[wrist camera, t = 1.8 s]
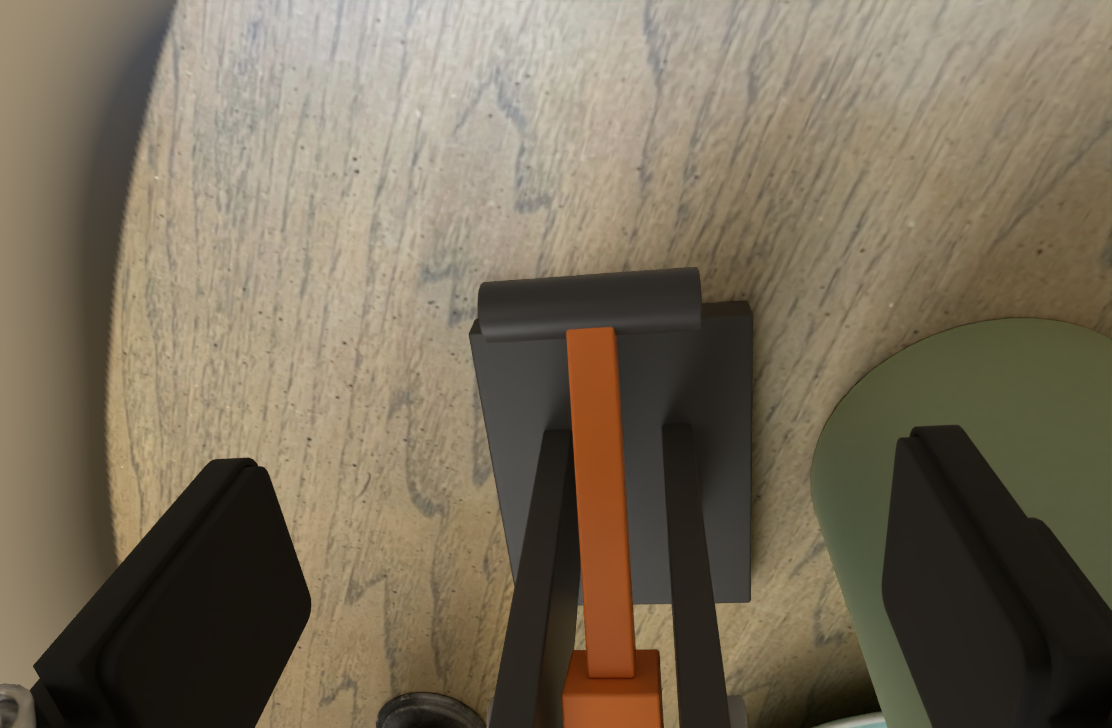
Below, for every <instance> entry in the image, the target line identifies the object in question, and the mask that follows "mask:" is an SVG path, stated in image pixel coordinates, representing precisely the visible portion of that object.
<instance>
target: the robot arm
mask: <svg viewBox="0 0 1112 728" xmlns="http://www.w3.org/2000/svg"><path fill="white" fill-rule="evenodd" d="M881 588H882V598H883V603H884V607H885V610H886V613H887V615H888V618H889V620H890V623H891V625H892V628H893V630H894V633H895V635H896V638H897V640H898V643H899V645H900V648H901V650H902V653H903V655H904V658H905V660H906V663H907V665H908V668H909V670H910V673H911V675H912V678H913V680H914V683H915V685H916V688H917V690H918V693H919V695H920V698H921V700H922V703H923V705H924V708H925V710H926V713H927V715H928V718H929V720H930V723H931V725H932V728H1112V610H1111V609H1110V607H1109V606H1108V605H1107V603H1106V602H1105V601H1104V600H1103V598H1102V597H1101V596H1100V594H1099V593H1098V592H1097V590H1096V589H1095V588H1094V586H1093V585H1092V584H1091V582H1090V581H1089V580H1088V578H1087V577H1086V576H1085V574H1084V573H1083V572H1082V570H1081V569H1080V568H1079V566H1078V565H1077V564H1076V562H1075V561H1074V560H1073V558H1072V557H1071V556H1070V554H1069V553H1068V552H1067V551H1066V549H1065V548H1064V547H1063V545H1062V544H1061V543H1060V541H1059V540H1058V539H1057V537H1056V536H1055V535H1054V533H1053V532H1052V531H1051V529H1050V528H1049V527H1048V526H1047V525H1046V524H1045V523H1044V522H1043V521H1042V520H1040V519H1037V518H1035V517H1029V518H1028V517H1027V516H1026V514H1025V513H1024V512H1023V510H1022V509H1021V508H1020V506H1019V505H1018V503H1017V502H1016V501H1015V499H1014V498H1013V497H1012V495H1011V494H1010V493H1009V491H1008V490H1007V488H1006V487H1005V486H1004V484H1003V483H1002V482H1001V480H1000V479H999V477H998V476H997V475H996V473H995V472H994V471H993V469H992V468H991V466H990V465H989V464H988V462H987V461H986V460H985V458H984V457H983V456H982V454H981V453H980V451H979V450H978V449H977V447H976V446H975V445H974V443H973V442H972V440H971V439H970V438H969V436H968V435H967V434H966V432H965V431H964V429H963V428H962V427H961V426H960V425H935V426H915V427H914V428H912V430H911V432H910V436H909V437H900V438H899V439H898V441H897V444H896V450H895V460H894V469H893V479H892V488H891V498H890V507H889V517H888V526H887V536H886V545H885V554H884V564H883V573H882V585H881ZM310 612H311V597H310V593H309V590H308V587H307V584H306V581H305V579H304V576H303V573H302V570H301V567H300V564H299V561H298V558H297V555H296V552H295V549H294V546H293V543H292V540H291V537H290V535H289V532H288V529H287V526H286V523H285V520H284V517H283V514H282V511H281V508H280V505H279V502H278V499H277V496H276V493H275V490H274V488H273V485H272V482H271V479H270V476H269V474H268V471H267V470H266V469H265V468H264V467H261V466H258V465H257V463H256V462H255V461H254V460H253V459H251V458H231V459H215V460H212V461H210V462H209V463H208V464H207V465H206V466H205V467H204V468H203V469H202V471H201V472H200V473H199V474H198V475H197V476H196V478H195V479H194V480H193V481H192V482H191V483H190V485H189V486H188V487H187V488H186V489H185V490H184V491H183V493H182V494H181V495H180V496H179V497H178V498H177V500H176V501H175V502H174V503H173V504H172V505H171V507H170V508H169V509H168V510H167V511H166V512H165V514H164V515H163V516H162V517H161V518H160V519H159V520H158V522H157V523H156V524H155V525H154V526H153V527H152V529H151V530H150V531H149V532H148V533H147V534H146V536H145V537H144V538H143V539H142V540H141V541H140V542H139V544H138V545H137V546H136V547H135V548H134V549H133V551H132V552H131V553H130V554H129V555H128V556H127V558H126V559H125V560H124V561H123V562H122V563H121V564H120V566H119V567H118V568H117V569H116V570H115V572H114V573H113V574H112V575H111V576H110V577H109V578H108V580H107V581H106V582H105V583H104V584H103V585H102V587H101V588H100V589H99V590H98V591H97V592H96V593H95V595H94V596H93V597H92V598H91V599H90V601H89V602H88V603H87V604H86V605H85V606H84V607H83V609H82V610H81V611H80V612H79V613H78V614H77V615H76V617H75V618H74V619H73V620H72V621H71V622H70V624H69V625H68V626H67V627H66V628H65V629H64V631H63V632H62V633H61V634H60V635H59V636H58V638H57V639H56V640H55V641H54V642H53V643H52V644H51V646H50V647H49V648H48V649H47V650H46V651H45V653H44V654H43V655H42V656H41V657H40V659H39V660H38V661H37V662H36V663H35V664H34V665H33V667H34V669H35V670H36V672H37V674H38V676H39V677H40V679H39V680H38V681H37V682H36V684H35V685H34V686H33V687H32V688H31V689H30V691H29V690H28V689H26V688H24V687H22V686H21V685H16V684H0V728H255V726H256V724H257V722H258V720H259V718H260V716H261V714H262V712H263V710H264V708H265V706H266V704H267V702H268V700H269V698H270V696H271V694H272V692H273V690H274V688H275V686H276V684H277V682H278V680H279V678H280V676H281V674H282V672H283V670H284V668H285V666H286V664H287V662H288V660H289V658H290V656H291V654H292V652H293V650H294V648H295V646H296V644H297V642H298V640H299V638H300V636H301V634H302V632H303V630H304V628H305V626H306V624H307V622H308V619H309V617H310Z"/></svg>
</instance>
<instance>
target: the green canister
mask: <svg viewBox="0 0 1112 728" xmlns="http://www.w3.org/2000/svg"><path fill="white" fill-rule="evenodd" d="M935 425H960V426H961V427H962V428H963V429H964V431H965V432H966V434H967V435H968V436H969V438H970V439H971V440H972V442H973V443H974V445H975V446H976V447H977V449H978V450H979V451H980V453H981V454H982V456H983V457H984V458H985V460H986V461H987V462H988V464H989V465H990V466H991V468H992V469H993V471H994V472H995V473H996V475H997V476H998V477H999V479H1000V480H1001V482H1002V483H1003V484H1004V486H1005V487H1006V488H1007V490H1008V491H1009V493H1010V494H1011V495H1012V497H1013V498H1014V499H1015V501H1016V502H1017V503H1018V505H1019V506H1020V508H1021V509H1022V510H1023V512H1024V513H1025V514H1026V516H1027V517H1028V518H1029V517H1035V518H1037V519H1040V520H1042V521H1043V522H1044V523H1045V524H1046V525H1047V526H1048V527H1049V528H1050V529H1051V531H1052V532H1053V533H1054V535H1055V536H1056V537H1057V539H1058V540H1059V541H1060V543H1061V544H1062V545H1063V547H1064V548H1065V549H1066V551H1067V552H1068V553H1069V554H1070V556H1071V557H1072V558H1073V560H1074V561H1075V562H1076V564H1077V565H1078V566H1079V568H1080V569H1081V570H1082V572H1083V573H1084V574H1085V576H1086V577H1087V578H1088V580H1089V581H1090V582H1091V584H1092V585H1093V586H1094V588H1095V589H1096V590H1097V592H1098V593H1099V594H1100V596H1101V597H1102V598H1103V600H1104V601H1105V602H1106V603H1107V605H1108V606H1109V607H1110V609H1111V610H1112V339H1110V338H1109V337H1107V336H1105V335H1103V334H1100V333H1098V332H1095V331H1093V330H1090V329H1088V328H1085V327H1082V326H1078V325H1074V324H1070V323H1066V322H1062V321H1055V320H1046V319H1037V318H1007V319H999V320H990V321H982V322H978V323H973V324H969V325H964V326H960V327H956V328H953V329H950V330H947V331H944V332H941V333H938V334H935V335H932V336H930V337H928V338H926V339H924V340H922V341H919V342H917V343H915V344H913V345H911V346H909V347H907V348H905V349H904V350H902V351H900V352H898V353H897V354H895V355H893V356H892V357H890V358H888V359H887V360H885V361H884V362H883V363H881V364H880V365H879V366H877V367H876V368H875V369H873V370H872V371H871V372H869V373H868V374H867V375H866V376H865V377H864V378H863V379H862V380H861V381H860V382H859V383H857V384H856V385H855V386H854V387H853V388H852V389H851V390H850V392H849V393H848V394H847V395H846V396H845V398H844V399H843V400H842V401H841V402H840V403H839V405H838V406H837V408H836V409H835V411H834V412H833V414H832V415H831V417H830V418H829V420H828V421H827V423H826V425H825V427H824V430H823V432H822V434H821V436H820V438H819V440H818V443H817V447H816V450H815V453H814V457H813V461H812V469H811V476H810V477H811V496H812V501H813V506H814V510H815V513H816V516H817V519H818V522H819V525H820V528H821V531H822V534H823V537H824V540H825V543H826V546H827V549H828V552H829V555H830V558H831V561H832V564H833V567H834V570H835V573H836V576H837V579H838V582H839V585H840V588H841V591H842V594H843V597H844V600H845V603H846V606H847V608H848V611H849V614H850V617H851V620H852V623H853V626H854V629H855V632H856V635H857V638H858V641H859V644H860V647H861V650H862V653H863V656H864V659H865V662H866V665H867V668H868V671H869V674H870V677H871V680H872V683H873V686H874V689H875V692H876V695H877V698H878V701H879V704H880V707H881V710H882V713H883V716H884V719H885V722H886V725H887V728H932V725H931V723H930V720H929V718H928V715H927V713H926V710H925V708H924V705H923V703H922V700H921V698H920V695H919V693H918V690H917V688H916V685H915V683H914V680H913V678H912V675H911V673H910V670H909V668H908V665H907V663H906V660H905V658H904V655H903V653H902V650H901V648H900V645H899V643H898V640H897V638H896V635H895V633H894V630H893V628H892V625H891V623H890V620H889V618H888V615H887V613H886V610H885V607H884V603H883V598H882V588H881V585H882V573H883V564H884V554H885V545H886V536H887V526H888V517H889V507H890V498H891V488H892V479H893V469H894V460H895V450H896V444H897V441H898V439H899V438H900V437H909V436H910V432H911V430H912V428H914V427H915V426H935Z"/></svg>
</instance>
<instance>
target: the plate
mask: <svg viewBox="0 0 1112 728" xmlns="http://www.w3.org/2000/svg"><path fill="white" fill-rule="evenodd" d="M811 728H887V725H886V722H885V719H884V716H883V713H882V711H881V712H874V713H867V714H862V715H858V716H853V717H848V718H843V719H839V720H835V721H831V722H828V723H824V724H821V725H818V726H815V727H811Z"/></svg>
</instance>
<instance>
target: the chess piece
mask: <svg viewBox="0 0 1112 728" xmlns="http://www.w3.org/2000/svg"><path fill="white" fill-rule="evenodd" d="M376 727H377V728H485V726H484V724H483V722H482V720H481V719H480V718H479V717H478V715H477V714H476V713H475V712H474V711H472V710H471V709H470V708H468V707H467V706H466V705H464V704H462V703H460V702H458V701H456V700H454V699H452V698H449V697H445V696H442V695H438V694H431V693H412V694H406V695H402V696H399V697H396V698H394V699H392V700H391V701H389V702H388V703H386V704H385V705H384V706H383V708H382V709H381V710H380V711H379V714H378V718H377V721H376Z"/></svg>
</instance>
